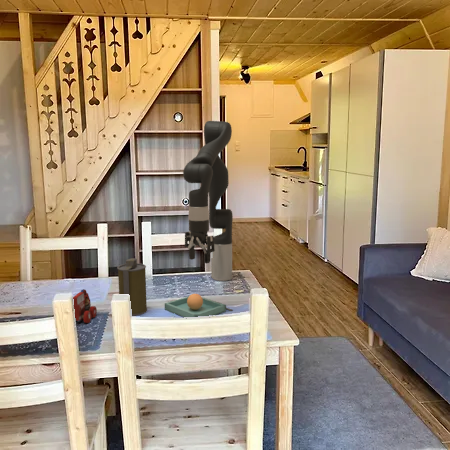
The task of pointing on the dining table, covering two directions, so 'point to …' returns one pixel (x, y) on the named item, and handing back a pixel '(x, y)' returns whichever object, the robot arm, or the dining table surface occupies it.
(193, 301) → the ball
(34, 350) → the dining table surface
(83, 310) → the toy fire truck
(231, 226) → the robot arm
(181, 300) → the tray
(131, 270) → the canister
